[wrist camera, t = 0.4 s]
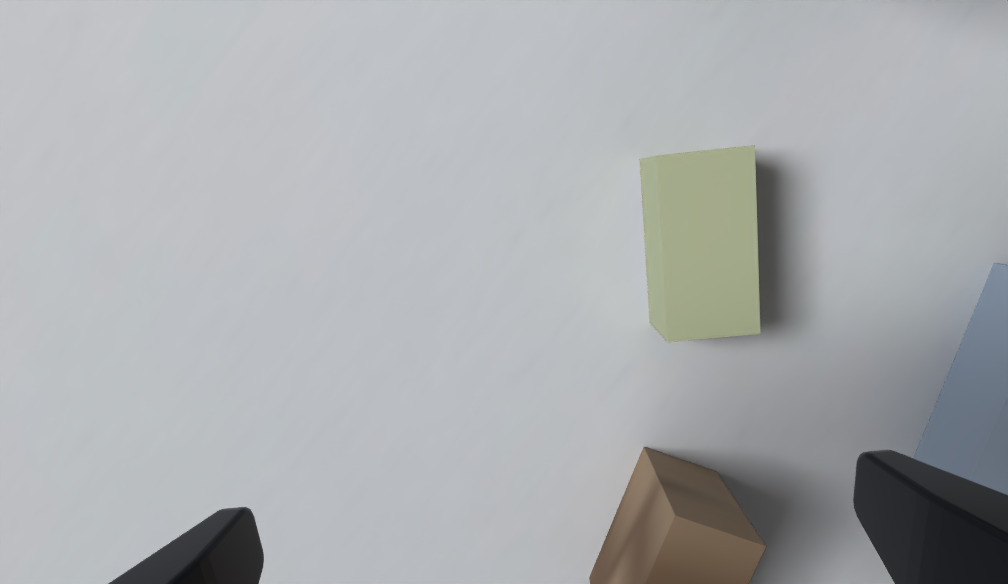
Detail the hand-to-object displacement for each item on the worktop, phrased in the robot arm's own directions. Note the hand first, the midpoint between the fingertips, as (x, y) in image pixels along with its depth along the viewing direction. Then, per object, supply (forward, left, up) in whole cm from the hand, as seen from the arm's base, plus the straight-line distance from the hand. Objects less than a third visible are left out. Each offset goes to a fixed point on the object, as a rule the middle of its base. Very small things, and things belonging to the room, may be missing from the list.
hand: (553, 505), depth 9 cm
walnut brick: (-7, -7, -14) cm, 17 cm away
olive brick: (+4, -4, -14) cm, 15 cm away
